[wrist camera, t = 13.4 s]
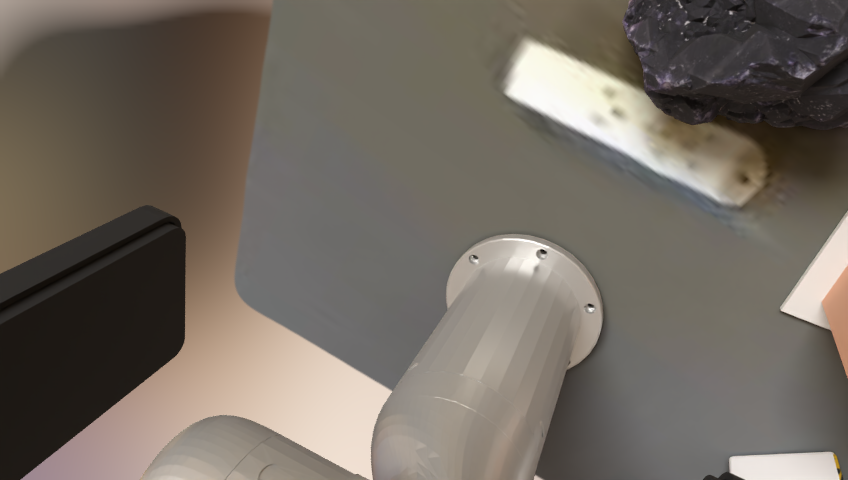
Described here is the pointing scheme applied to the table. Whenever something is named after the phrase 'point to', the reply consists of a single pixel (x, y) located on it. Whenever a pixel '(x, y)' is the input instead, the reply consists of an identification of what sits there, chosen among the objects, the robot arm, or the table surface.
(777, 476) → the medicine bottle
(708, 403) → the table surface
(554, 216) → the table surface
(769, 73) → the crystal cluster
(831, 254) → the mat
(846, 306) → the plug
